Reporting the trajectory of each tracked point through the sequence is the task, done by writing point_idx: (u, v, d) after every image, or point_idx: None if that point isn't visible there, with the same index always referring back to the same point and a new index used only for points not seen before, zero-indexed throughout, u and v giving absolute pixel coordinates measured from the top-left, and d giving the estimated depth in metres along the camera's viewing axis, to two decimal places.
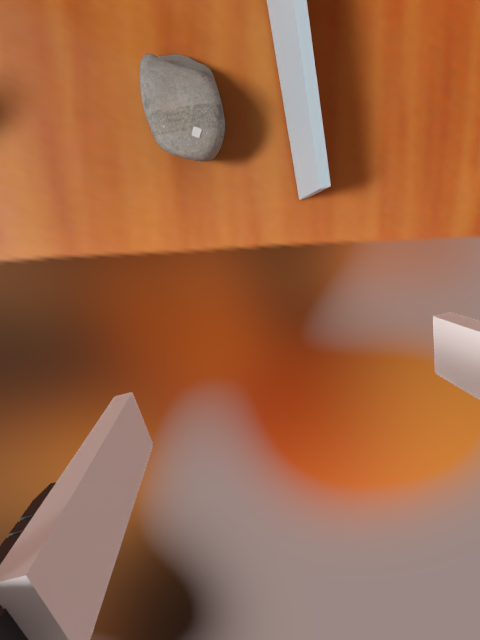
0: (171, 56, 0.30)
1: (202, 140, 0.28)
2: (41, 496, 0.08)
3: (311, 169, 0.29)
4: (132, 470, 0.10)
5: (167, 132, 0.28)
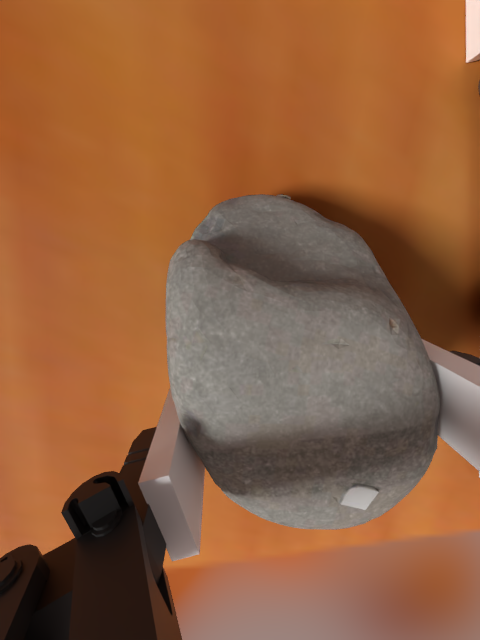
0: (251, 210, 0.10)
1: (373, 508, 0.09)
2: (138, 438, 0.09)
3: None
4: None
5: (259, 494, 0.08)
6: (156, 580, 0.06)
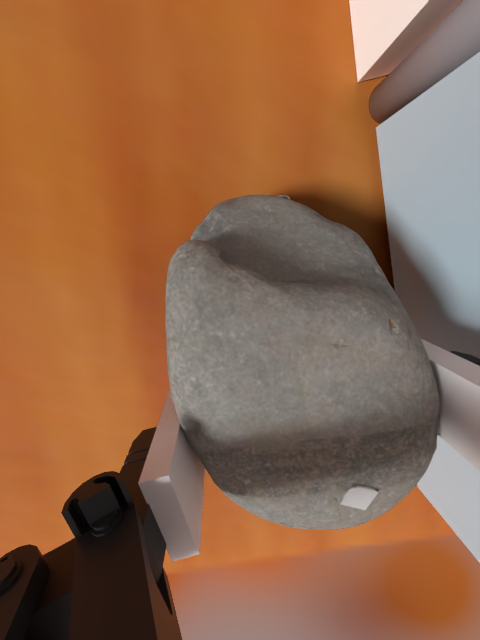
0: (251, 210, 0.10)
1: (373, 508, 0.09)
2: (139, 438, 0.09)
3: None
4: None
5: (258, 494, 0.08)
6: (156, 580, 0.06)
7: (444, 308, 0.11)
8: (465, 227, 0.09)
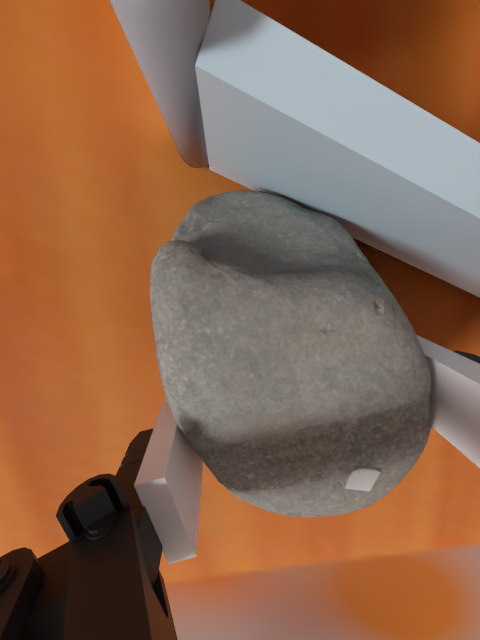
0: (228, 206, 0.10)
1: (377, 489, 0.09)
2: (136, 440, 0.09)
3: None
4: None
5: (263, 487, 0.08)
6: (152, 583, 0.06)
7: (400, 239, 0.10)
8: (340, 199, 0.09)
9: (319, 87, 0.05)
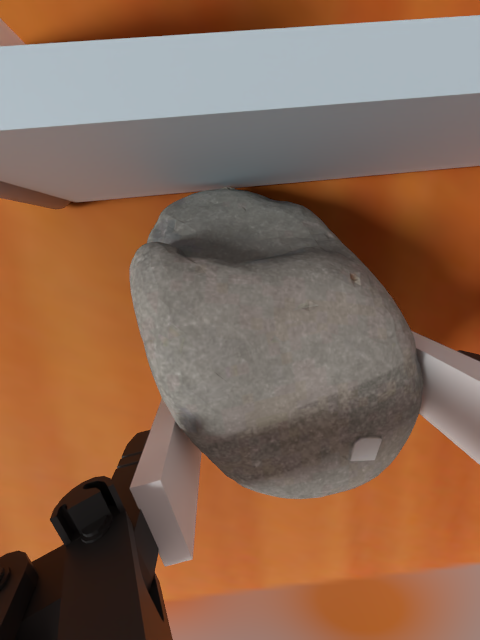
0: (199, 206, 0.10)
1: (382, 456, 0.09)
2: (133, 441, 0.09)
3: None
4: None
5: (272, 473, 0.09)
6: (147, 587, 0.06)
7: (263, 167, 0.09)
8: (161, 166, 0.08)
9: None
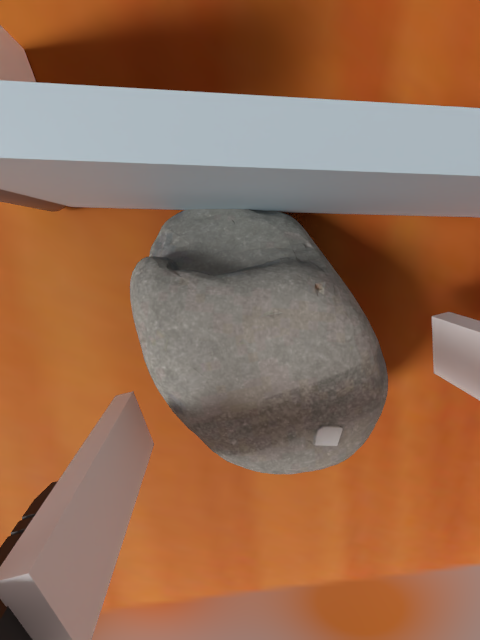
0: (194, 219, 0.12)
1: (345, 443, 0.10)
2: (42, 495, 0.08)
3: None
4: (133, 469, 0.10)
5: (246, 451, 0.10)
6: None
7: (257, 200, 0.10)
8: (156, 192, 0.08)
9: None
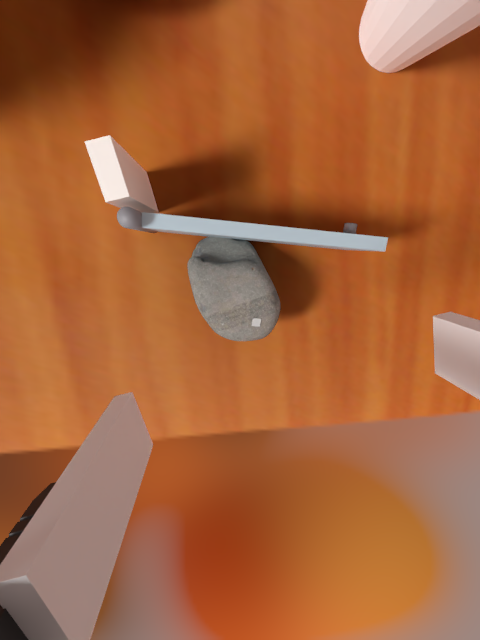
0: (210, 242, 0.30)
1: (263, 326, 0.28)
2: (41, 496, 0.08)
3: None
4: (132, 470, 0.10)
5: (227, 328, 0.28)
6: None
7: None
8: (200, 234, 0.26)
9: (169, 221, 0.23)
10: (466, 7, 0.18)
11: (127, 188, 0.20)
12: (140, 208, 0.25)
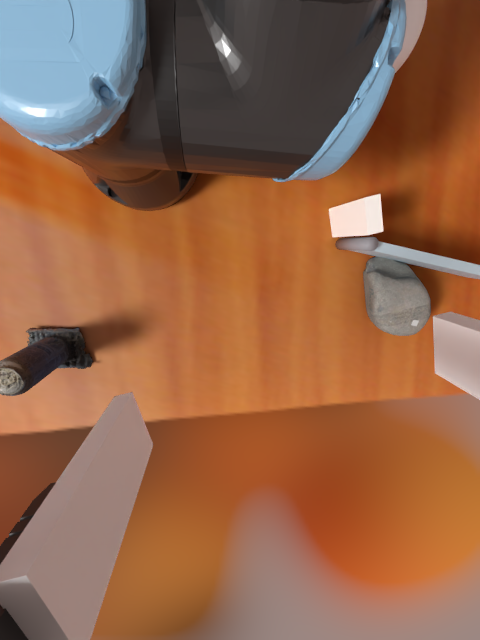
0: (379, 261, 0.41)
1: (418, 326, 0.39)
2: (41, 496, 0.08)
3: None
4: (132, 470, 0.10)
5: (393, 324, 0.39)
6: None
7: (406, 261, 0.38)
8: (390, 257, 0.37)
9: (390, 248, 0.34)
10: None
11: (382, 226, 0.31)
12: None
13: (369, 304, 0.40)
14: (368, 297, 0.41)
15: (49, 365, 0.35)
